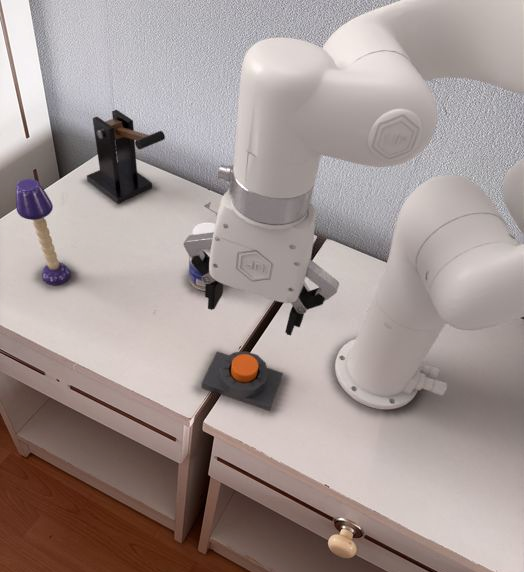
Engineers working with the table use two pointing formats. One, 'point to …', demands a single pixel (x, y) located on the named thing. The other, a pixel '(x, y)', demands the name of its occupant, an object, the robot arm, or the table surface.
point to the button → (244, 368)
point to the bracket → (116, 176)
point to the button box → (252, 392)
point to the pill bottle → (201, 229)
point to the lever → (135, 135)
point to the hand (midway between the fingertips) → (252, 314)
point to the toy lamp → (40, 227)
